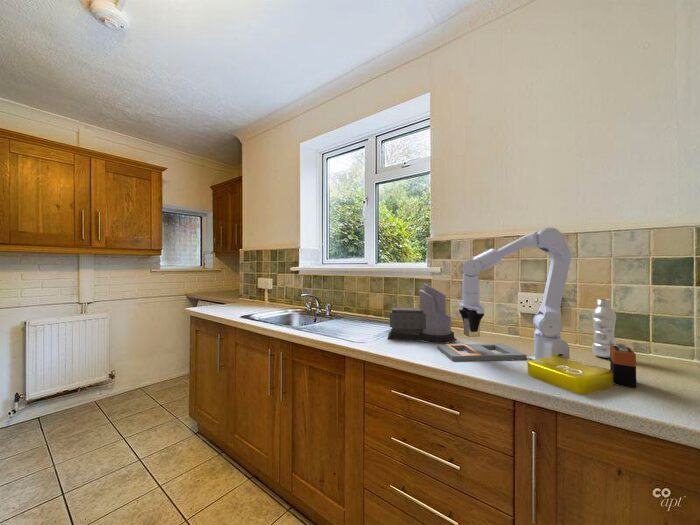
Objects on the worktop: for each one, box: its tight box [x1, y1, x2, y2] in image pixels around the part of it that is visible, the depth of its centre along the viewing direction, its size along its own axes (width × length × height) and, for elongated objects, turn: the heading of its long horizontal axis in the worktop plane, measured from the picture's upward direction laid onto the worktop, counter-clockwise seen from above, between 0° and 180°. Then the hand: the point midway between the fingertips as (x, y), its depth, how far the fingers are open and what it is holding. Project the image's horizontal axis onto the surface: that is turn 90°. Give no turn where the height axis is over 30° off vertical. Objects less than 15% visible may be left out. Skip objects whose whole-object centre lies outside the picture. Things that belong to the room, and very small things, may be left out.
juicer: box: [387, 282, 458, 344], centre depth 125 cm, size 30×16×24 cm, turn 79°
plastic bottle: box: [591, 298, 617, 359], centre depth 97 cm, size 6×7×20 cm
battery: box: [609, 343, 637, 389], centre depth 76 cm, size 4×7×10 cm, turn 143°
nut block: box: [463, 318, 481, 338], centre depth 102 cm, size 4×4×6 cm
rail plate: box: [436, 343, 528, 362], centre depth 102 cm, size 14×26×2 cm, turn 93°
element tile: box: [527, 355, 615, 395], centre depth 78 cm, size 15×15×5 cm
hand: (471, 330), depth 102 cm, fingers closed on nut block, 4 cm apart
